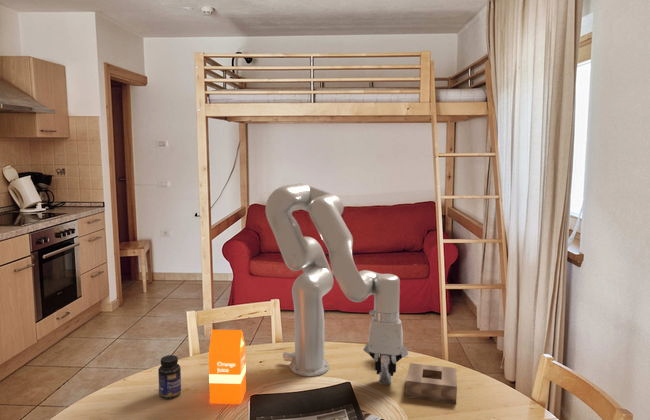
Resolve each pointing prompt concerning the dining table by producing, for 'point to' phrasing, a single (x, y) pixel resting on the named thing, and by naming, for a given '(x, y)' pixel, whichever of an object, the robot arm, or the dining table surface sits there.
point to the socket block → (432, 383)
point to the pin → (385, 369)
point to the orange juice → (227, 367)
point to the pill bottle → (169, 377)
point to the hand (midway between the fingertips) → (385, 372)
